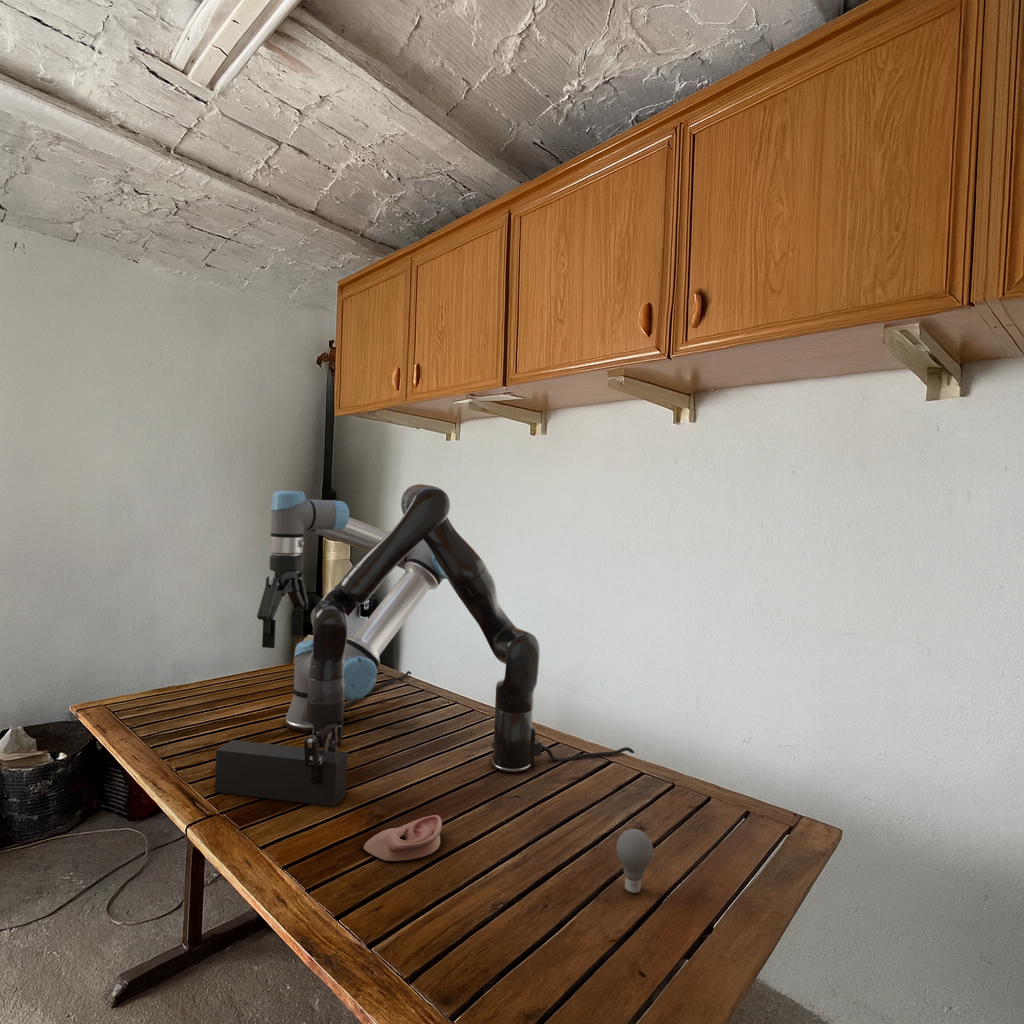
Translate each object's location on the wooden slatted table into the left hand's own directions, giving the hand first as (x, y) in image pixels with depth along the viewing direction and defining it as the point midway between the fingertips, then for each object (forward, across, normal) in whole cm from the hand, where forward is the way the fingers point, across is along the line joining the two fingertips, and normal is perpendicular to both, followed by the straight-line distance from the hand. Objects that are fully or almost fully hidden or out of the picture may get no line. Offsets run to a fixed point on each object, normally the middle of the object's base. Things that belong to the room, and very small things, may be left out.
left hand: (283, 641), depth 154 cm
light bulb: (+28, -37, -84) cm, 96 cm away
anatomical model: (+28, -32, -42) cm, 60 cm away
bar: (+28, -19, -11) cm, 35 cm away
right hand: (+23, -19, -20) cm, 36 cm away
